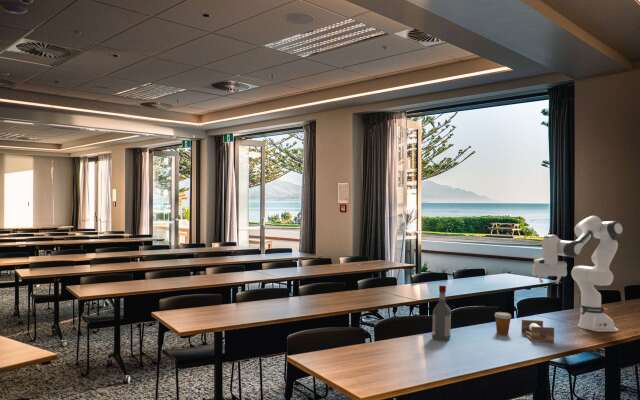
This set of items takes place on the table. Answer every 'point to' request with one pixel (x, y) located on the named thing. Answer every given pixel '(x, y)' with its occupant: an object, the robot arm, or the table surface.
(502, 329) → the disposable coffee cup
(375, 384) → the table surface
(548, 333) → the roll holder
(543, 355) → the table surface
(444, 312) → the liquor
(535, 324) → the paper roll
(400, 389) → the table surface
